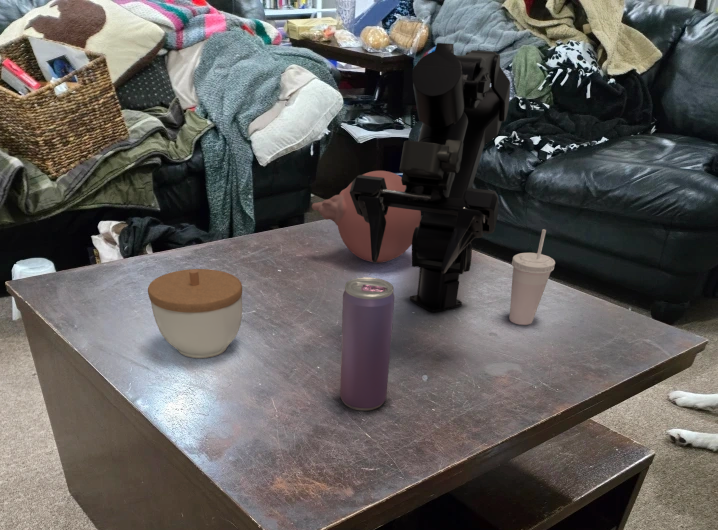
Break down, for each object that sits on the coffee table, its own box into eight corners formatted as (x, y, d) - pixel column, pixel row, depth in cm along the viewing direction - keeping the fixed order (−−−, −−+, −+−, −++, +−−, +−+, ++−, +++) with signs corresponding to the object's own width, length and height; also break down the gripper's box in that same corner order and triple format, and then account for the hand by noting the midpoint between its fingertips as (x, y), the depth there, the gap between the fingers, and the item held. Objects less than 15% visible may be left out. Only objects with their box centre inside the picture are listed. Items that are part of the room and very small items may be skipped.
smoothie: (545, 329, 100) (567, 237, 91) (504, 328, 100) (523, 236, 91) (536, 312, 105) (556, 223, 96) (497, 311, 105) (514, 222, 96)
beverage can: (382, 415, 80) (391, 299, 70) (335, 409, 80) (338, 293, 71) (389, 391, 84) (398, 279, 75) (344, 386, 85) (348, 274, 75)
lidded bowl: (212, 320, 99) (205, 248, 92) (264, 348, 93) (259, 273, 86) (141, 345, 92) (126, 269, 85) (190, 377, 86) (179, 297, 79)
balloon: (314, 244, 128) (314, 159, 118) (414, 247, 128) (422, 163, 118) (309, 272, 116) (308, 180, 106) (418, 276, 116) (428, 184, 106)
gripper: (356, 102, 77) (324, 224, 76) (512, 116, 72) (478, 246, 72) (373, 159, 88) (344, 266, 87) (509, 174, 83) (480, 288, 83)
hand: (407, 266), depth 82 cm, fingers open, 9 cm apart
